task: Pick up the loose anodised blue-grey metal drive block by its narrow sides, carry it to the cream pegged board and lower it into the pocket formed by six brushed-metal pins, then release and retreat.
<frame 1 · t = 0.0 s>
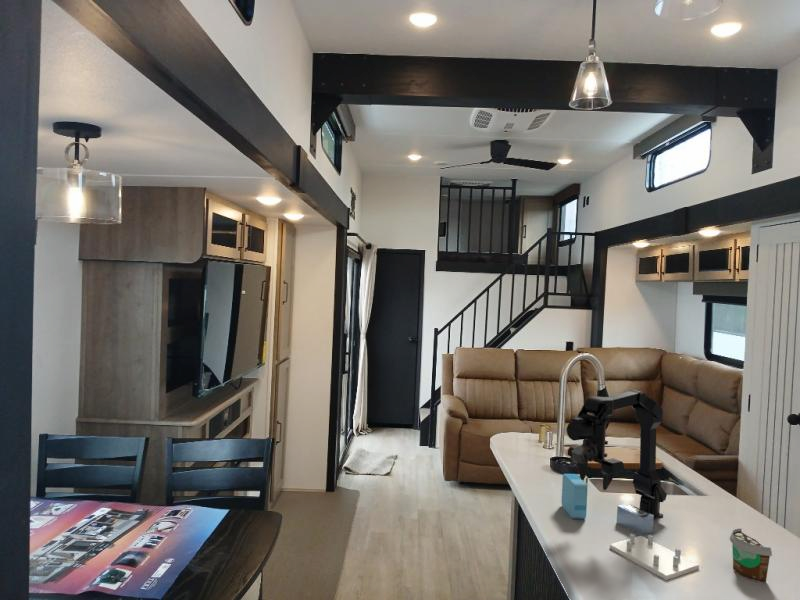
hand: (593, 484, 175), 15 cm above the kitchen island, fingers open, 9 cm apart
cream pegged board: (652, 558, 158), on the kitchen island
light blue box: (573, 513, 188), on the kitchen island
drive: (634, 528, 178), on the kitchen island
food container: (743, 573, 152), on the kitchen island
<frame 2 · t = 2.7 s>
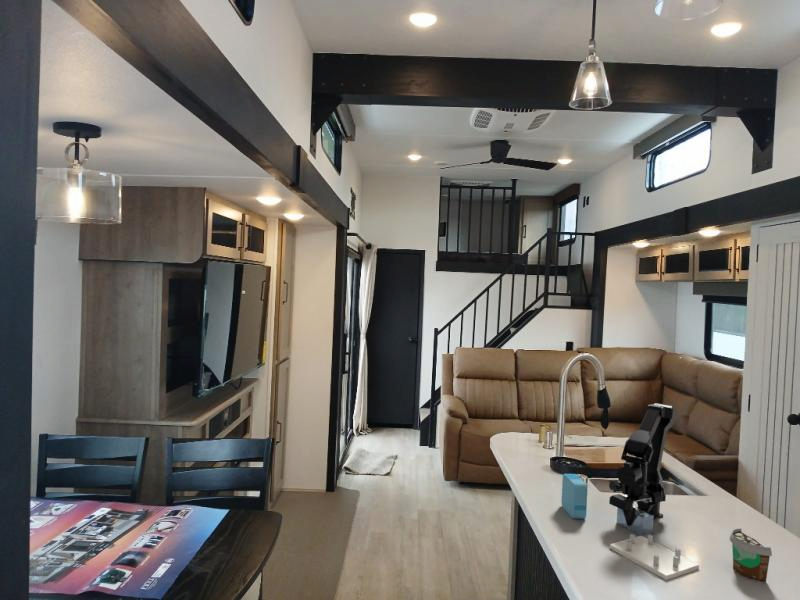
hand: (634, 524, 178), 1 cm above the kitchen island, fingers closed on drive, 5 cm apart
drive: (634, 528, 178), on the kitchen island, touching gripper
everything else where it was.
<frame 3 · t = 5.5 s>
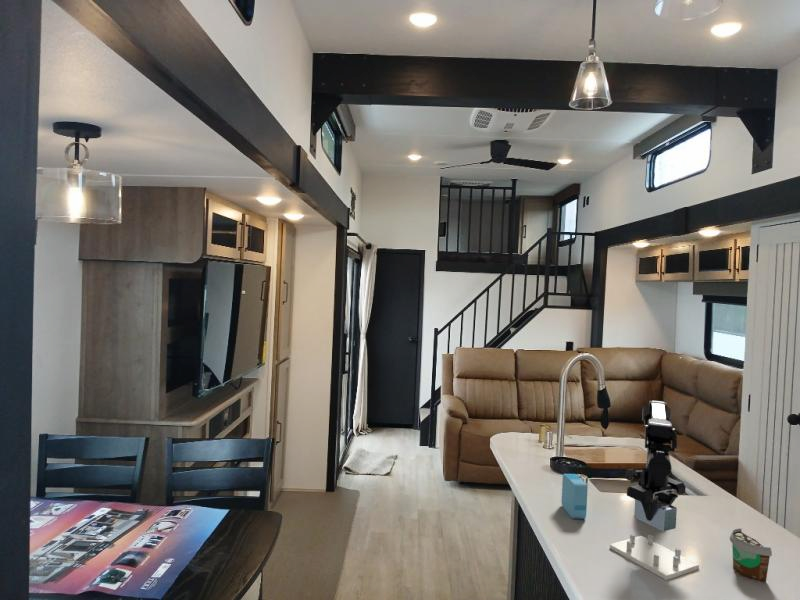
hand: (654, 518, 158), 12 cm above the kitchen island, fingers closed on drive, 5 cm apart
drive: (654, 522, 158), point 11 cm above the kitchen island, touching gripper
everything else where it was.
when the fingers open (4 cm above the kitchen island, at t = 7.7 s): drive drops 1 cm, resting on cream pegged board.
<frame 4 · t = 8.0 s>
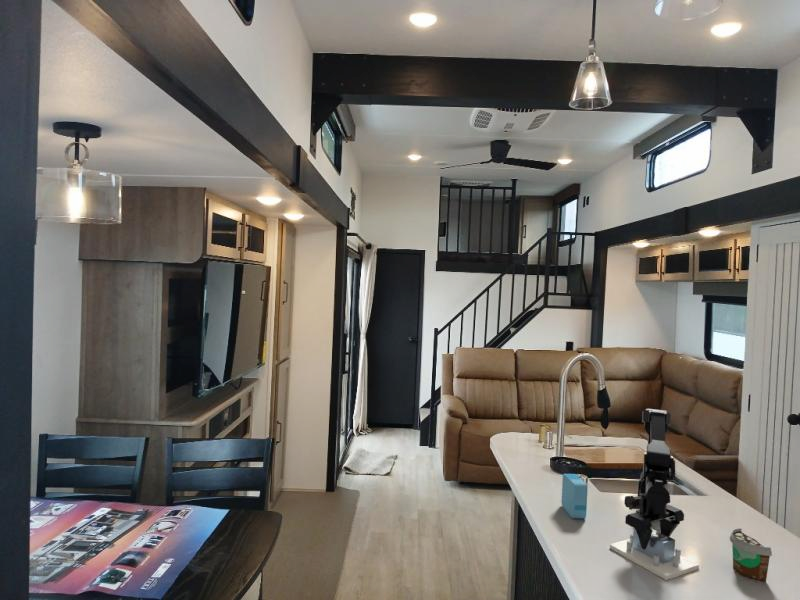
hand: (653, 546, 158), 4 cm above the kitchen island, fingers open, 8 cm apart
drive: (652, 554, 158), point 1 cm above the kitchen island, touching cream pegged board
everything else where it was.
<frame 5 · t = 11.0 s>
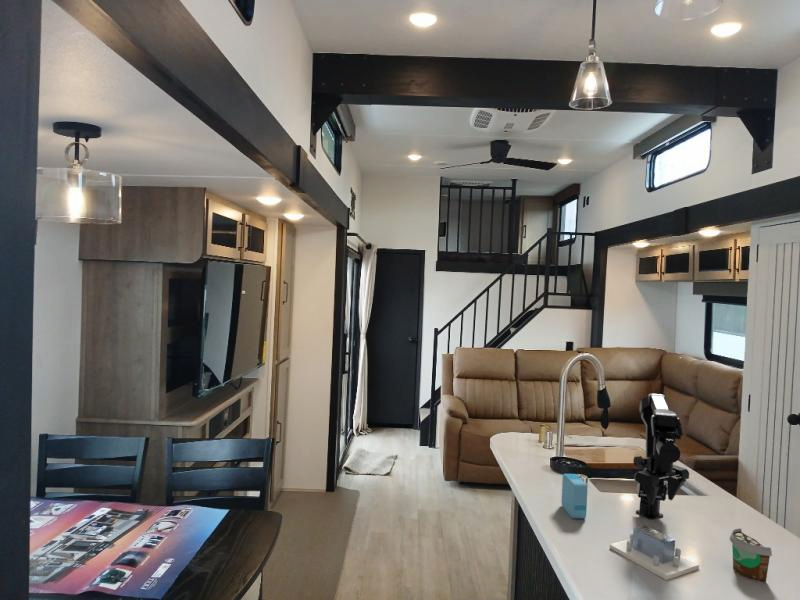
hand: (660, 502, 170), 12 cm above the kitchen island, fingers open, 9 cm apart
nothing on the kitchen island moved.
at the end: drive 0.1 cm off-centre on the cream pegged board, point 1.2 cm above the cream pegged board's base; drive tilted 0°; the gripper is holding nothing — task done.
